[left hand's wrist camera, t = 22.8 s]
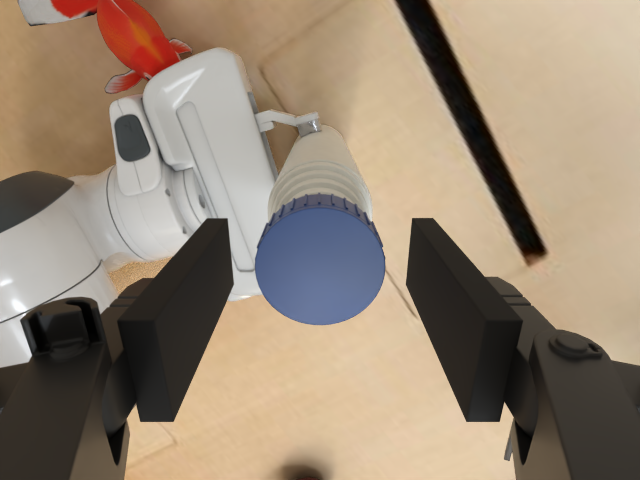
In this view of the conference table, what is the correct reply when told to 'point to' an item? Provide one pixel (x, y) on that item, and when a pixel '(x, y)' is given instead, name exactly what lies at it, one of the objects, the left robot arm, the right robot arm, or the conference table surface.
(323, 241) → the cap
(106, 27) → the fish
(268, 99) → the conference table surface
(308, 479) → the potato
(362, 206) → the bottle
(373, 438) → the conference table surface
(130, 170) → the right robot arm
